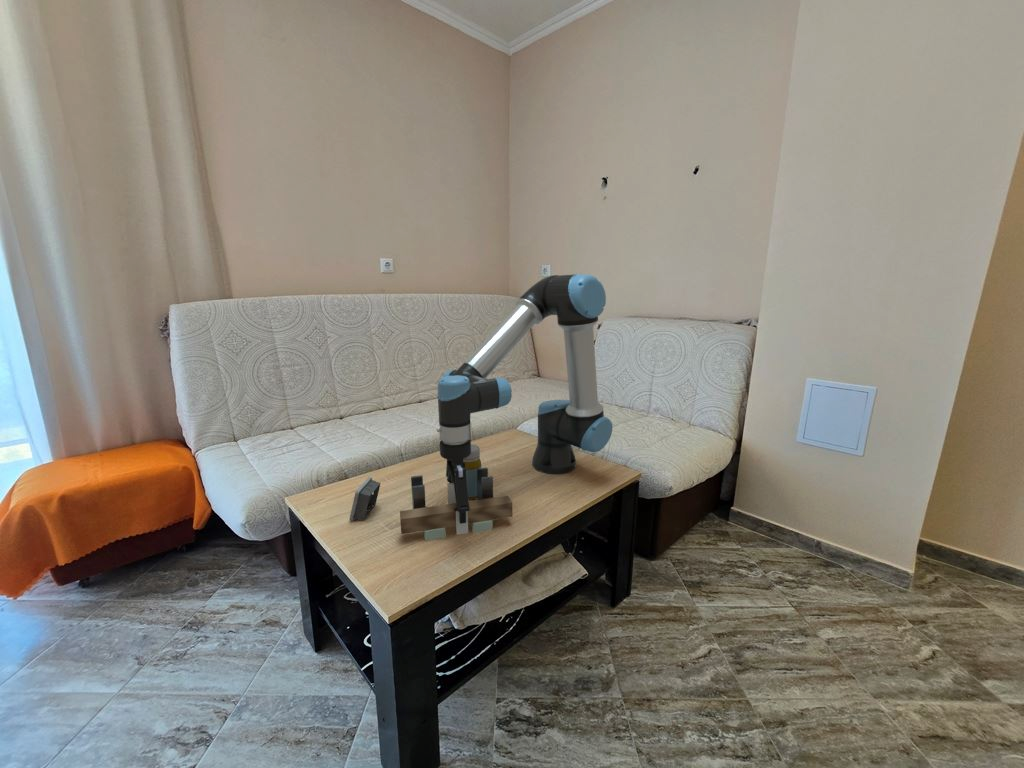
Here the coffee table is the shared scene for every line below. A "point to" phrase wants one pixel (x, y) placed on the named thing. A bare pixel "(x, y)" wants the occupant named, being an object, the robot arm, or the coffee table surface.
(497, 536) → the coffee table surface
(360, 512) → the electrical switch
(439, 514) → the rail
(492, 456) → the coffee table surface
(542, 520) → the coffee table surface
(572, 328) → the robot arm
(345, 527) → the coffee table surface
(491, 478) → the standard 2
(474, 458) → the bottle
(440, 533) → the blocks
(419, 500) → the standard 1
